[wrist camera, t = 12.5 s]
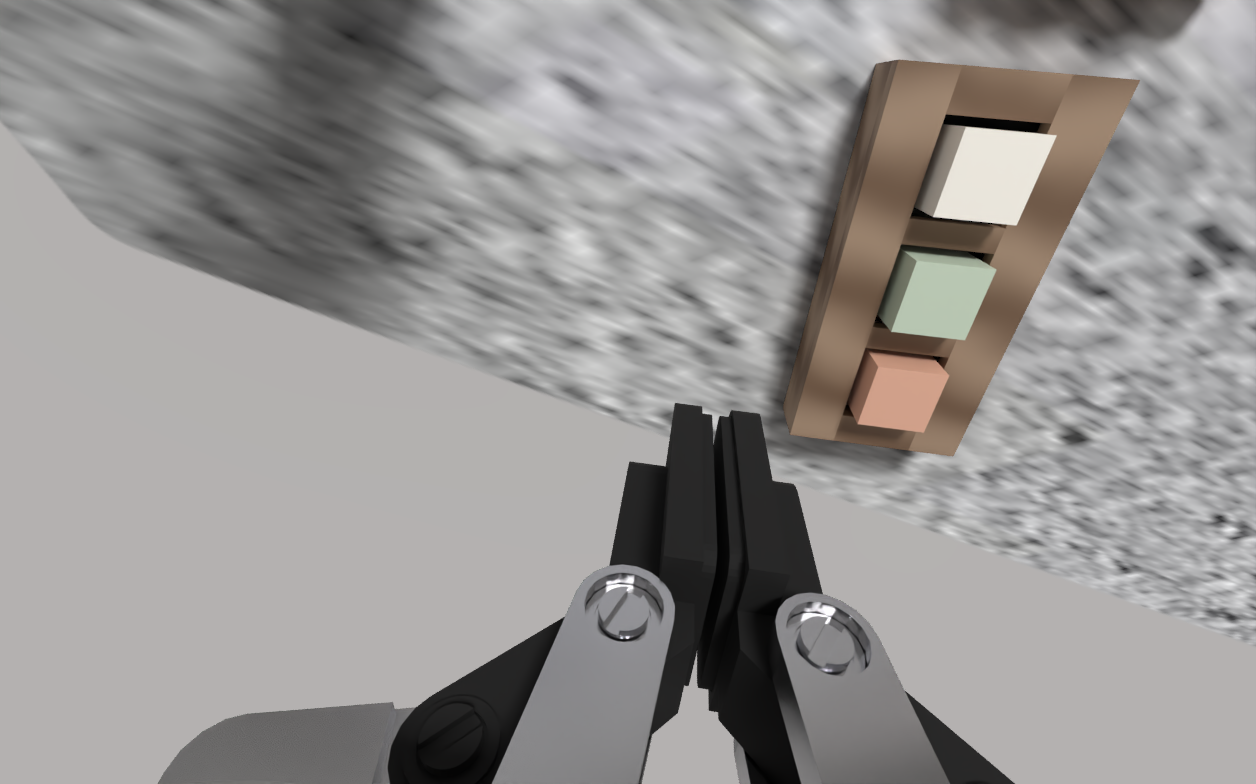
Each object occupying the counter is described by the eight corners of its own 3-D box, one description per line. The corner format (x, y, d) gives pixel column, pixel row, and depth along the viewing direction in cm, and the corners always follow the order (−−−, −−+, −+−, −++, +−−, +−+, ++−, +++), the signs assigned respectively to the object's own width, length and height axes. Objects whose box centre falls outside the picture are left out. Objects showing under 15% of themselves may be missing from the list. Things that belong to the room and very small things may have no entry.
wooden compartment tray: (876, 63, 30) (898, 59, 27) (1089, 81, 30) (1140, 80, 26) (782, 407, 43) (790, 434, 39) (932, 426, 42) (953, 456, 38)
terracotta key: (861, 341, 37) (878, 367, 34) (926, 349, 37) (949, 375, 33) (843, 395, 39) (857, 424, 36) (904, 403, 39) (923, 432, 36)
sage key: (894, 244, 34) (916, 261, 30) (966, 251, 33) (996, 269, 30) (872, 309, 36) (891, 331, 32) (939, 316, 36) (965, 340, 32)
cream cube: (935, 123, 30) (965, 127, 27) (1015, 130, 30) (1056, 135, 26) (908, 203, 32) (932, 216, 29) (982, 211, 32) (1016, 225, 29)
